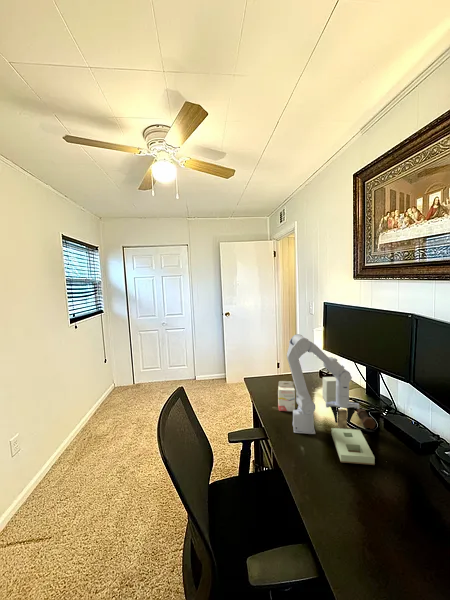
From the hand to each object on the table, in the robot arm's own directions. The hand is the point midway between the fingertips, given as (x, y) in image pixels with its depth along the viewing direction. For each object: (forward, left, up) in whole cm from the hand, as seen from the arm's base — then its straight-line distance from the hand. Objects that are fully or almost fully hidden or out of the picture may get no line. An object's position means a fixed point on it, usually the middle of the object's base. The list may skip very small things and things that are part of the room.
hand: (342, 422), depth 139 cm
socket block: (0, -17, -2) cm, 17 cm away
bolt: (+12, +8, -3) cm, 14 cm away
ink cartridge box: (-25, +16, -3) cm, 30 cm away
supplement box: (0, +30, -3) cm, 30 cm away
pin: (0, 0, -2) cm, 2 cm away
